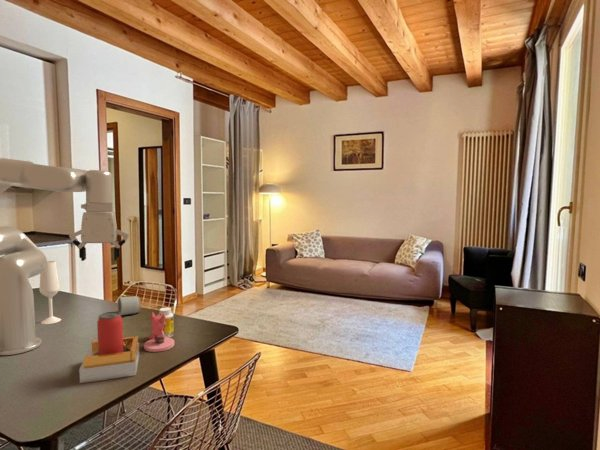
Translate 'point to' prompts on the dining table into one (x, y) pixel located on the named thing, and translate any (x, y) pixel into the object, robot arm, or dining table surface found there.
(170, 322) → the supplement bottle
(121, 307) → the ceramic mug
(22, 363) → the dining table surface
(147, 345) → the toy figure
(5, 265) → the robot arm
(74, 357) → the dining table surface
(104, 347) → the beer can
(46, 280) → the champagne flute
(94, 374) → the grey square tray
